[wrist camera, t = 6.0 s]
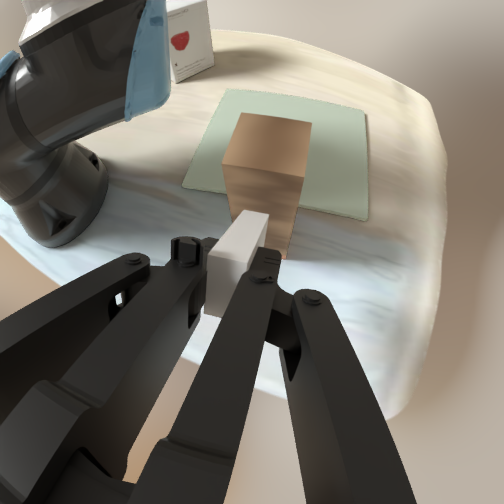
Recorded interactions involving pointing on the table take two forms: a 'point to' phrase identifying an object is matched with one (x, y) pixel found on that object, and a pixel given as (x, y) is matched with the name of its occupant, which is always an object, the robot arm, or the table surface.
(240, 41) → the table surface
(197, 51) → the supplement box
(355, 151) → the mat
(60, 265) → the table surface
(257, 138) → the walnut block
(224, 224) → the table surface
